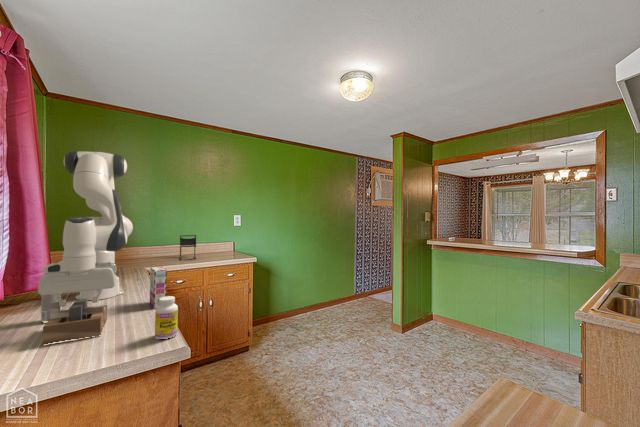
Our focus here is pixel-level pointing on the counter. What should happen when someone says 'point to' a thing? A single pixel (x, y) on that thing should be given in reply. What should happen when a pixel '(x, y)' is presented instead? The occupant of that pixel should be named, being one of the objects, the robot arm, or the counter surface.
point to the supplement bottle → (166, 318)
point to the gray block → (77, 310)
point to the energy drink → (46, 306)
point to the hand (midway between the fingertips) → (79, 304)
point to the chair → (187, 242)
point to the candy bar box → (157, 285)
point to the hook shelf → (73, 324)
